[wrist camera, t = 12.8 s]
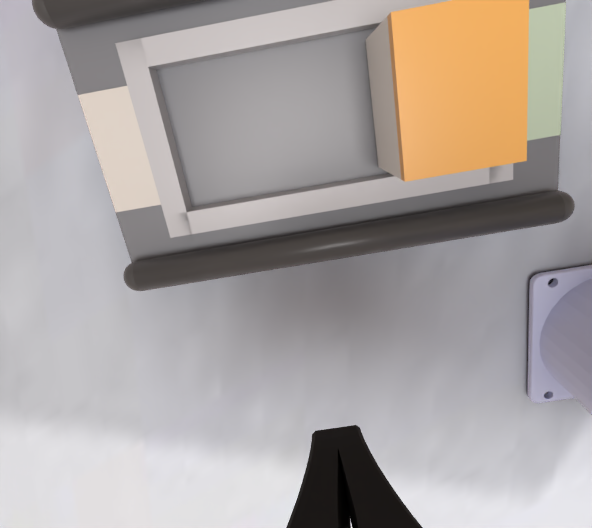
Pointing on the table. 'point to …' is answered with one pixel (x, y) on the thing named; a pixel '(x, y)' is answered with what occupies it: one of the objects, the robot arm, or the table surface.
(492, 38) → the orange-faced white block
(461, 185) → the panel
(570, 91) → the table surface
